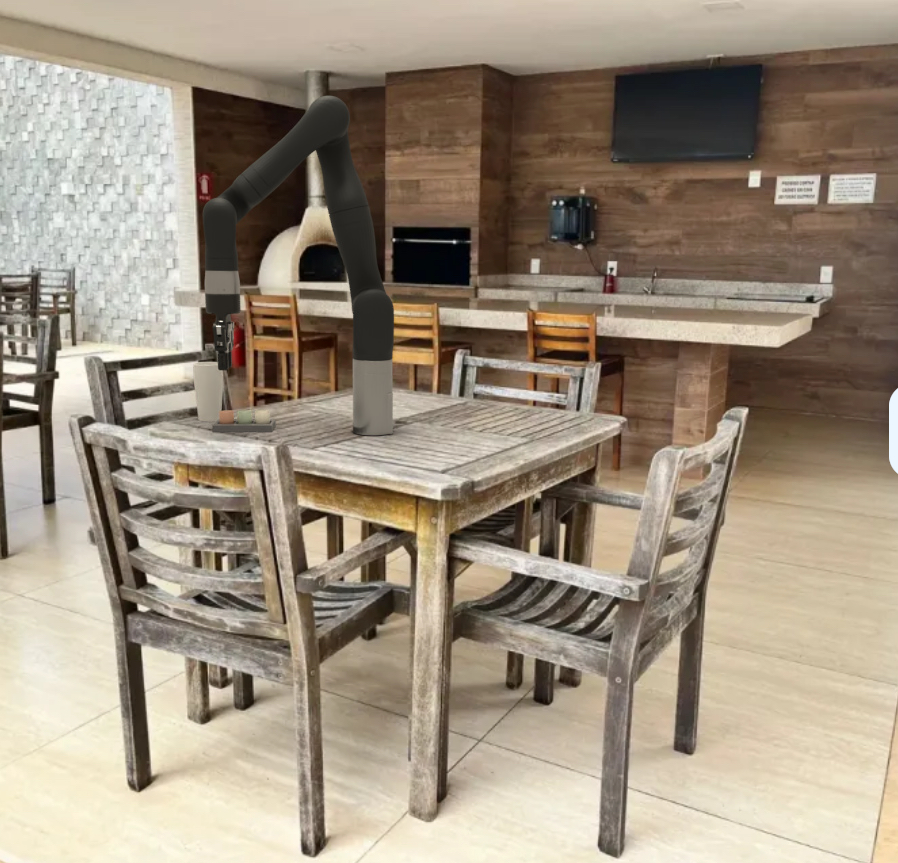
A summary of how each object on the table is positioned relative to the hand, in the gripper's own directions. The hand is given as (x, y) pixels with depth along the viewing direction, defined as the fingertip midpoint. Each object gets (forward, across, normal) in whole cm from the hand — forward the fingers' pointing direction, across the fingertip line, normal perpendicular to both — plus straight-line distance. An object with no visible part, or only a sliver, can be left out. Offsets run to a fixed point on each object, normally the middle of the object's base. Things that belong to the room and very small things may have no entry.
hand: (225, 368), depth 200 cm
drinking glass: (+15, +12, +6) cm, 21 cm away
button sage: (+14, 0, -4) cm, 14 cm away
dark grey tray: (+15, 0, -4) cm, 16 cm away
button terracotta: (+14, 0, 0) cm, 14 cm away
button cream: (+14, 0, -8) cm, 16 cm away
